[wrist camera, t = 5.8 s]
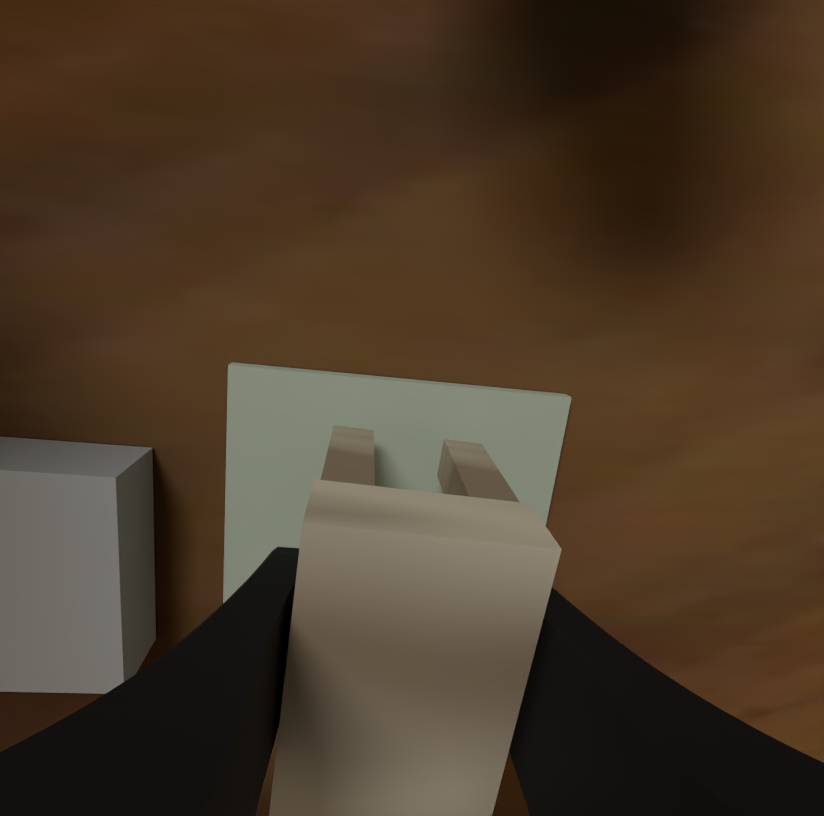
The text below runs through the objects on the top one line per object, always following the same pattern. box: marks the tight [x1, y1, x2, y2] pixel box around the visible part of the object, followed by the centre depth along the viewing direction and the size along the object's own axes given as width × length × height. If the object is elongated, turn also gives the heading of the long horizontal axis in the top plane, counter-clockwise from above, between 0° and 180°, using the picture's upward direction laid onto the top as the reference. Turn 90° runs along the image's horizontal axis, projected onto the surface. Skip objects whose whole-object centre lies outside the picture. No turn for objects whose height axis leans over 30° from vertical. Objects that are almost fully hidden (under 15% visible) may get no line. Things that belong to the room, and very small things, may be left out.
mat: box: [223, 362, 572, 603], centre depth 14 cm, size 8×9×1 cm
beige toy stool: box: [269, 425, 562, 816], centre depth 11 cm, size 6×4×5 cm, turn 171°
